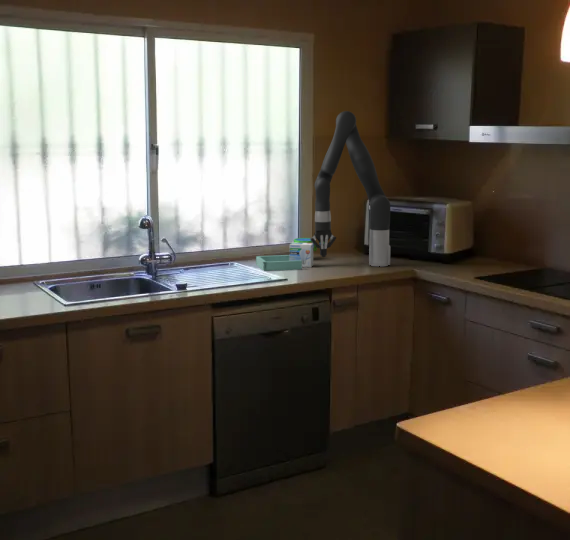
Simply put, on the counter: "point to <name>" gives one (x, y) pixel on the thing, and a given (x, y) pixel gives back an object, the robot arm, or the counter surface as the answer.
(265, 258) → the corral
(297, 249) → the light bulb box
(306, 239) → the snack cup
